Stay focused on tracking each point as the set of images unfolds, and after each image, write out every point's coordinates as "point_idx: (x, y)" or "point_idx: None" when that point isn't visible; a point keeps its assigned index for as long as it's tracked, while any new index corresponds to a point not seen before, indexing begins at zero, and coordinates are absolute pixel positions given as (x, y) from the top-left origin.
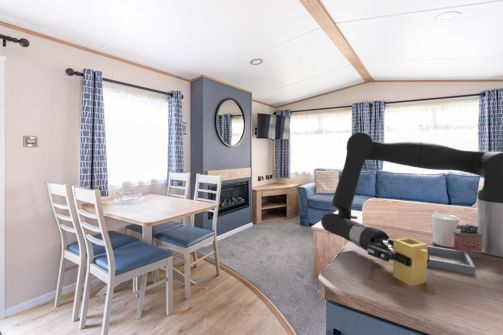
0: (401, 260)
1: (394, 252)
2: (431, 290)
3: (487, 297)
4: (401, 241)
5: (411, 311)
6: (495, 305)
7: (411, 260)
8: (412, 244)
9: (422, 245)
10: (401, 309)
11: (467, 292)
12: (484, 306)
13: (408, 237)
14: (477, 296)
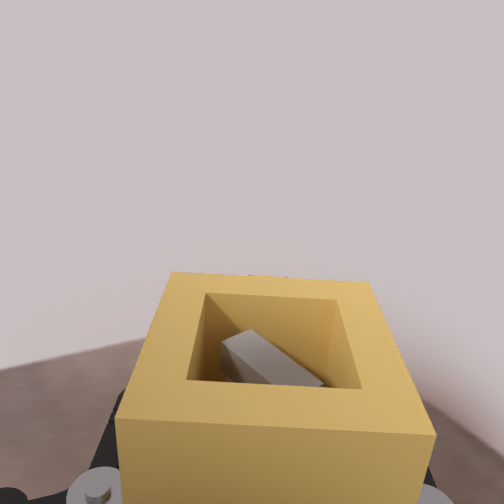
0: None
1: (438, 490)
2: None
3: (38, 381)
4: (372, 364)
5: (453, 433)
6: (90, 354)
7: None
8: (248, 352)
9: (234, 281)
10: (494, 455)
11: (55, 425)
12: (134, 363)
13: (137, 408)
14: (63, 397)
